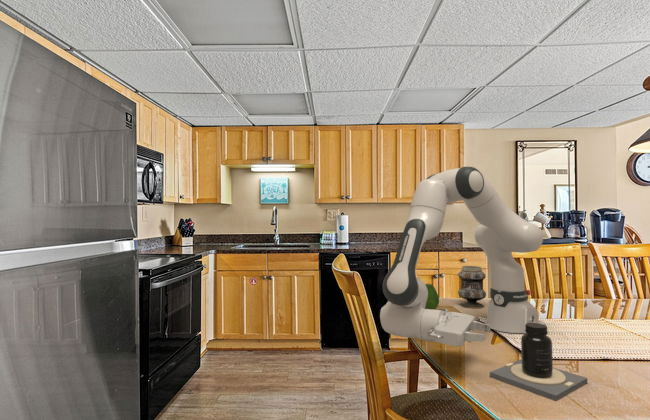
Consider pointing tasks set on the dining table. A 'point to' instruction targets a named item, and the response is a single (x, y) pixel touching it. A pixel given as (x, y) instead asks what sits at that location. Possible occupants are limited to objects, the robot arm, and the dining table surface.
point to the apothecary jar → (472, 286)
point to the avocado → (432, 297)
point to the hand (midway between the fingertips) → (487, 332)
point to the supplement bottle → (536, 351)
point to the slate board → (540, 381)
